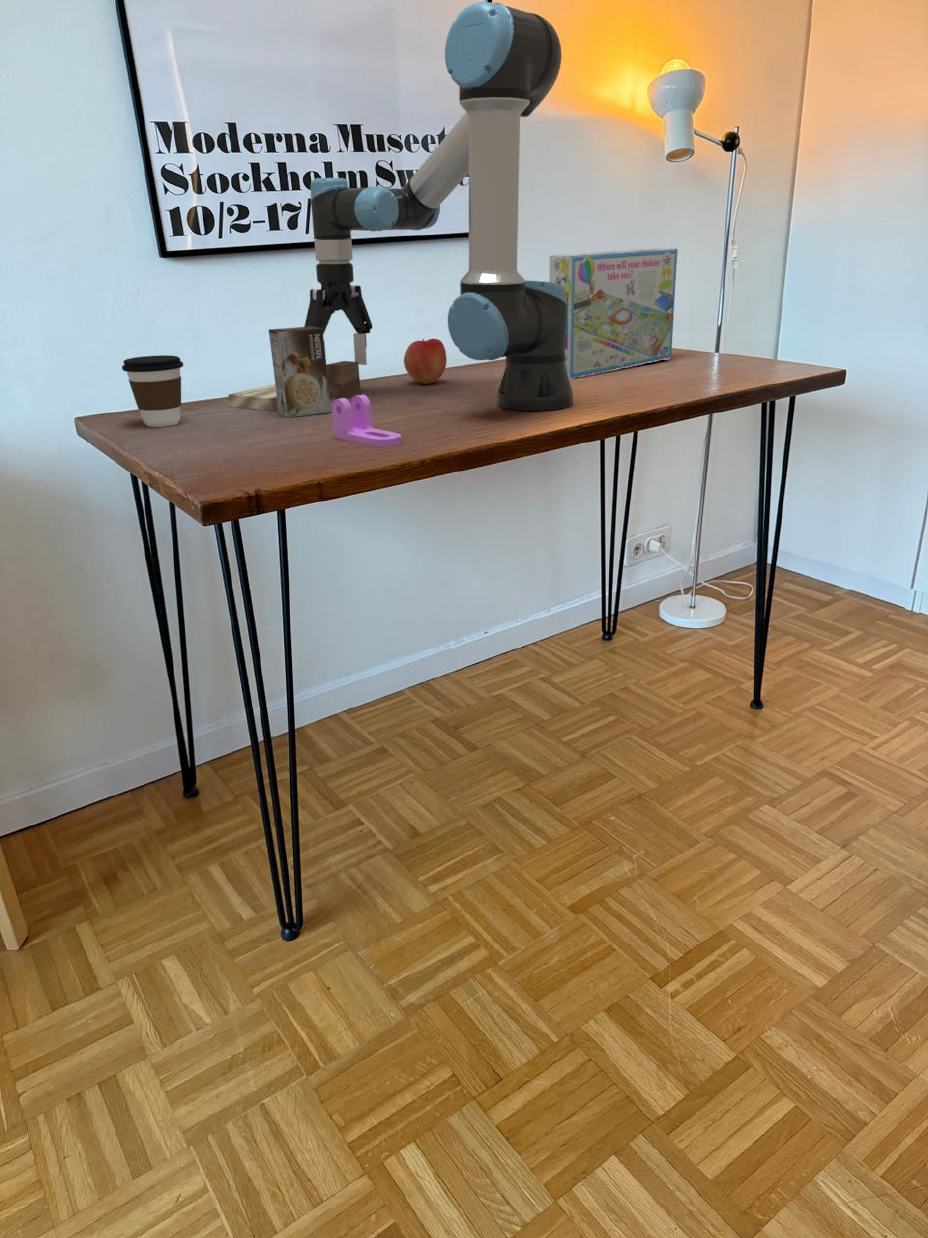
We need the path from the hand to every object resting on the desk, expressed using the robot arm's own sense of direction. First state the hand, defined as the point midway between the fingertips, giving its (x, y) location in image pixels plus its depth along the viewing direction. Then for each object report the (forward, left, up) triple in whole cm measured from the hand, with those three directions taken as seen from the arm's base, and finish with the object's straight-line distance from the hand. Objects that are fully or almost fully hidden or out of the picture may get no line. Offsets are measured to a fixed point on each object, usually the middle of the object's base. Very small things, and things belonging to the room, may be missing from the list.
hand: (341, 368), depth 186 cm
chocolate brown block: (+5, 0, -6) cm, 7 cm away
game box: (-38, -59, -6) cm, 71 cm away
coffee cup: (+13, +39, -6) cm, 41 cm away
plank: (+8, +7, -6) cm, 12 cm away
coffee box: (-5, +19, -6) cm, 20 cm away
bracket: (-33, +33, -6) cm, 47 cm away
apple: (-7, -21, -6) cm, 23 cm away
